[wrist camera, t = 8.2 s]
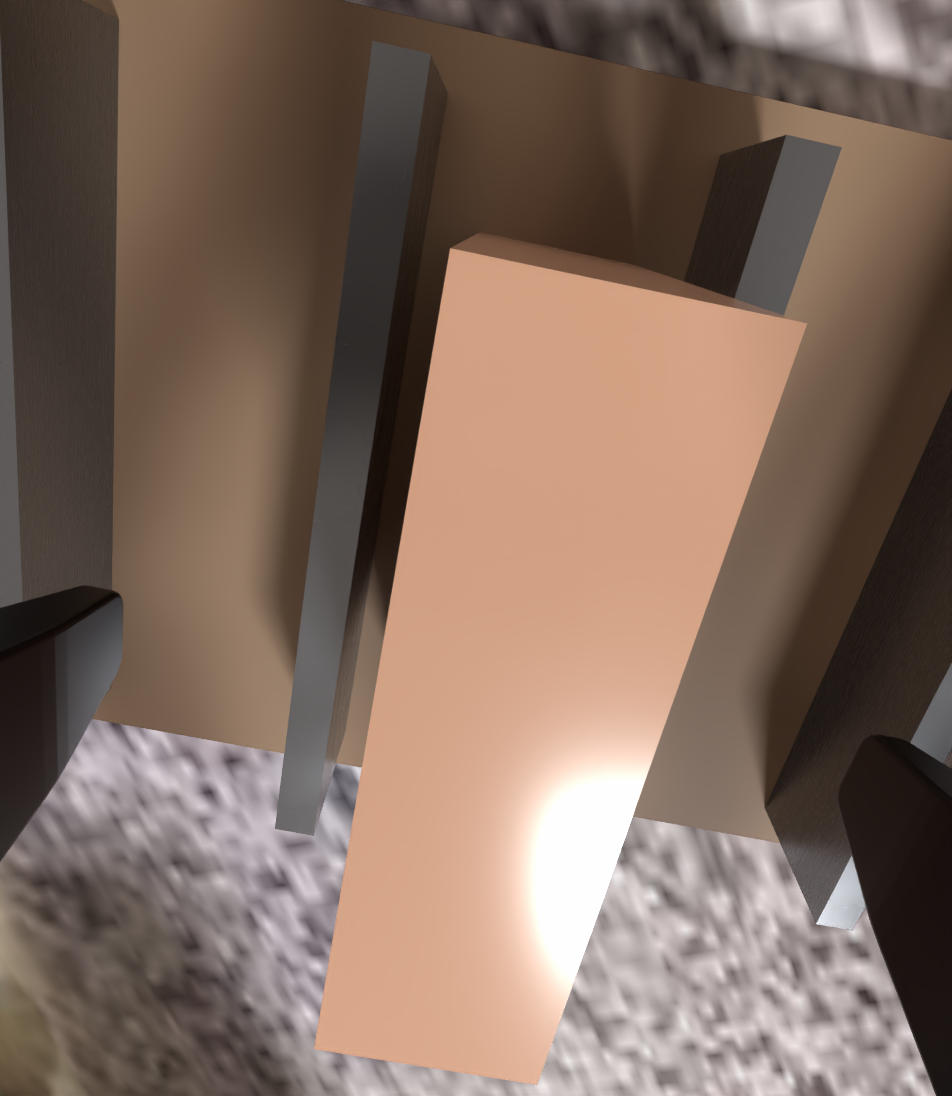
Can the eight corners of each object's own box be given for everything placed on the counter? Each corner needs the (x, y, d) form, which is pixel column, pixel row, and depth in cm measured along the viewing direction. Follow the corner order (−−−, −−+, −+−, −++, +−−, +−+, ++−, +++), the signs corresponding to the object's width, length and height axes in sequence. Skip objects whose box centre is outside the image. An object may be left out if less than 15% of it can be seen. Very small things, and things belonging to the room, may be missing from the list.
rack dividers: (1066, 232, 14) (1232, 235, 11) (795, 813, 20) (852, 930, 16) (72, 8, 13) (-64, -59, 10) (77, 683, 19) (-11, 778, 16)
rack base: (1101, 186, 15) (1141, 183, 14) (800, 821, 21) (814, 849, 20) (50, -54, 14) (18, -74, 13) (63, 687, 20) (41, 709, 19)
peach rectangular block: (634, 264, 15) (806, 322, 6) (521, 698, 19) (536, 1084, 10) (480, 232, 14) (449, 248, 6) (399, 676, 18) (313, 1049, 10)
